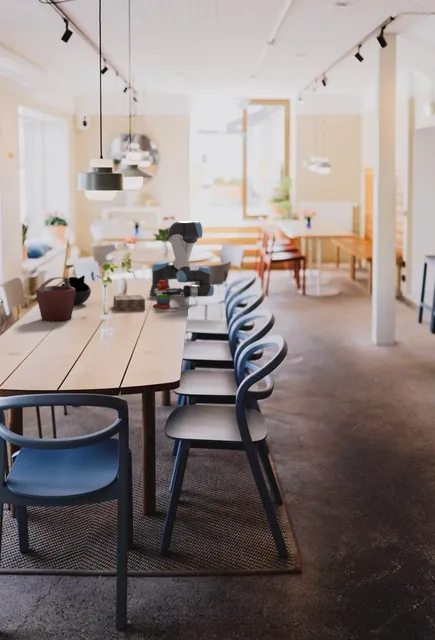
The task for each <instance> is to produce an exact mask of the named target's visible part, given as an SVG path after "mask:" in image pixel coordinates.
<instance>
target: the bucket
mask: <svg viewBox="0 0 435 640" xmlns="http://www.w3.org/2000/svg"><path fill="white" fill-rule="evenodd" d="M58 279H62V280H63V284H64V286H61V285H49V284H50V283H51V282H53V281H54V280H58ZM47 285H48V286H47ZM75 294H76V290H75V288H73V287H70V283H69V278H67V277H61V276H60V277H59V276H57V277H56V276H55V277H51V278H48V279H47V280H45V281H44V282H43V283H42V284H41V285H40V286H39V287H37V288H36V289H35V295H36V299H37V303H38V308H39V312H40V317H41V321H42V322H48V323H58V322H59V323H61V322H67V321H70V320H72V318H73V317H72V316H73V310H74V306H75V305H74V300H75Z"/></svg>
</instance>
